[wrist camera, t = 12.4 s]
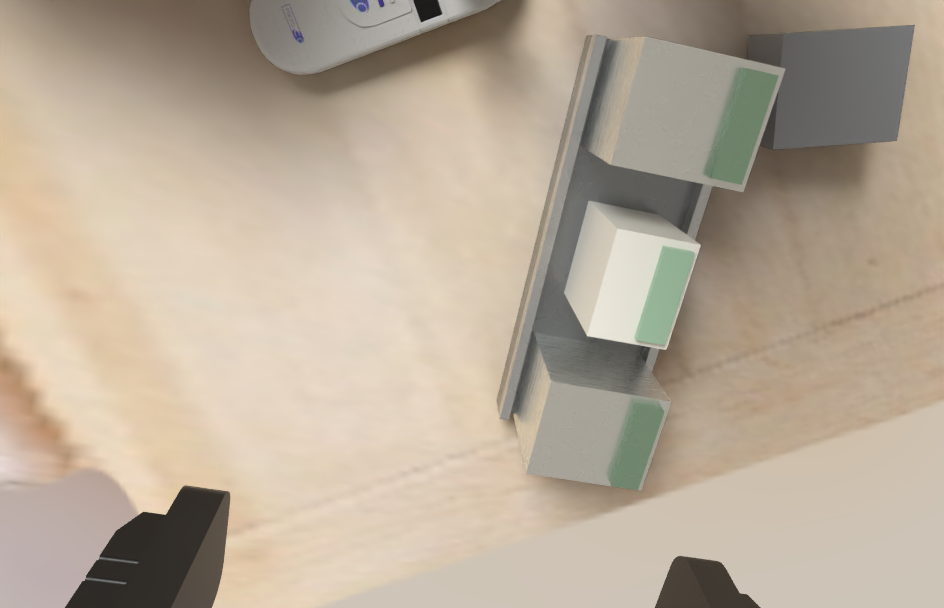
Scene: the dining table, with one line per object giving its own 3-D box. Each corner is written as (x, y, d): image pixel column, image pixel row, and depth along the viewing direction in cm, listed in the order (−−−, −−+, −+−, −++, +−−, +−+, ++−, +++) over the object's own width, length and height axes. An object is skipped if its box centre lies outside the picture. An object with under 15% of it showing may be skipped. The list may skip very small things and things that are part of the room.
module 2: (747, 35, 40) (783, 33, 36) (864, 27, 40) (914, 25, 36) (739, 140, 42) (773, 149, 38) (851, 132, 42) (896, 141, 38)
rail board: (586, 35, 39) (628, 30, 31) (732, 69, 40) (811, 73, 32) (496, 400, 47) (510, 477, 39) (620, 420, 48) (660, 499, 40)
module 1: (588, 200, 41) (619, 230, 34) (659, 214, 42) (704, 247, 35) (563, 292, 43) (588, 339, 36) (631, 305, 44) (668, 353, 37)
